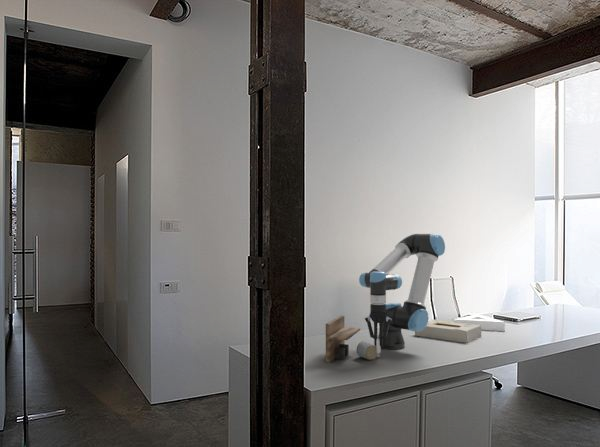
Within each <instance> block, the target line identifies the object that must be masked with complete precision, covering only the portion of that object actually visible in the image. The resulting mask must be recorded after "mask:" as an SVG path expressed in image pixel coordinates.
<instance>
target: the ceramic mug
mask: <svg viewBox="0 0 600 447" xmlns="http://www.w3.org/2000/svg"><path fill="white" fill-rule="evenodd" d="M356 354H357V355H358V357H360V358H362V359H365V360H369V361H372V360H374V359H375V358H380V356H381V353H377V348H376V346H375V345H373V344H371V343H370V342H367V341H365V340H364V341H360V342H359V343H357V345H356Z"/></svg>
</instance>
